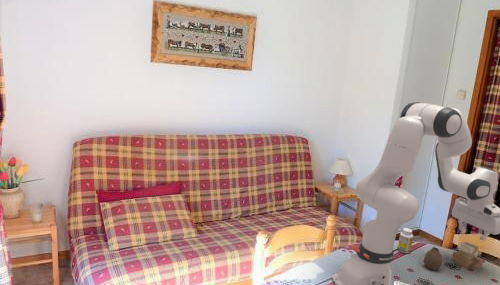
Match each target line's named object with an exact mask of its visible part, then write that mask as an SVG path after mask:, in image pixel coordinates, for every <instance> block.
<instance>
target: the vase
mask: <svg viewBox="0 0 500 285" xmlns="http://www.w3.org/2000/svg"><path fill="white" fill-rule="evenodd" d="M423 262H424V265H425V267H426V268H427V269H429V270H432V271H437V270H439V269H440V268H441V267H442V265H443V262H444V259H443V255H442V254H441V252H440V249H439V248H438V247H435V246H433V247H432V248H430V249H429V250H428V251H426V253H425V255H424V257H423Z"/></svg>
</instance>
